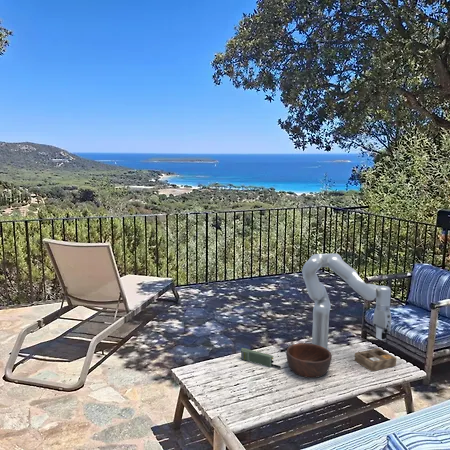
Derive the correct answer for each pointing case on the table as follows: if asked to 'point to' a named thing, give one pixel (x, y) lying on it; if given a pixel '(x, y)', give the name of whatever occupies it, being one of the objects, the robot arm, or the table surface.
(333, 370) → the table surface
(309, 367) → the wooden bowl
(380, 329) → the plug
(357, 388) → the table surface
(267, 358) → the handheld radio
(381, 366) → the socket block
